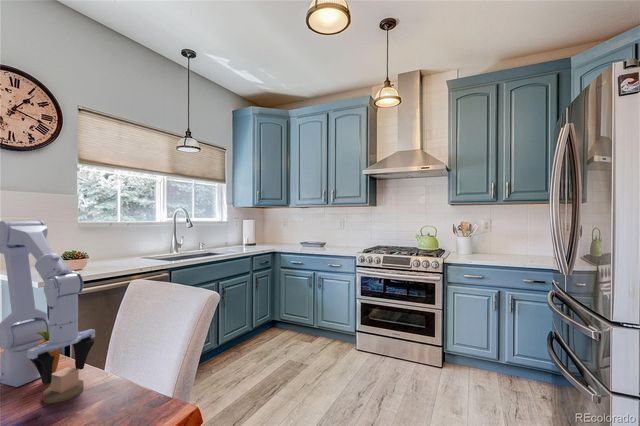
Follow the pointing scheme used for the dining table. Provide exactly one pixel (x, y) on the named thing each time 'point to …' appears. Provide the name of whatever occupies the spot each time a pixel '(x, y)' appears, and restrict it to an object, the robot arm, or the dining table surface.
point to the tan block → (64, 379)
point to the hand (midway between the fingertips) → (63, 375)
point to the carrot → (53, 353)
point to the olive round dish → (62, 394)
